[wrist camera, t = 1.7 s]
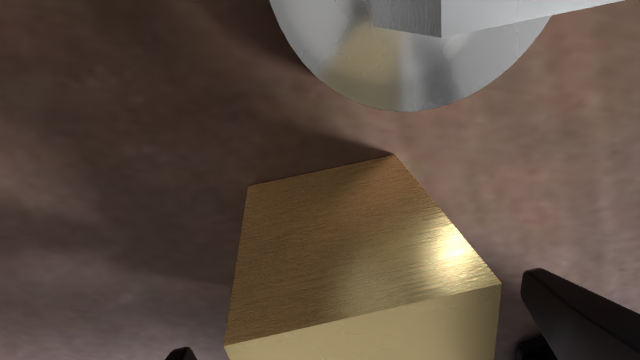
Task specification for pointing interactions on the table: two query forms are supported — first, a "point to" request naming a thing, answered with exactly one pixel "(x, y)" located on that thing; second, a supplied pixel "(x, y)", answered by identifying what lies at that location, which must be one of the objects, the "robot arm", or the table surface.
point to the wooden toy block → (357, 272)
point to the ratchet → (413, 45)
